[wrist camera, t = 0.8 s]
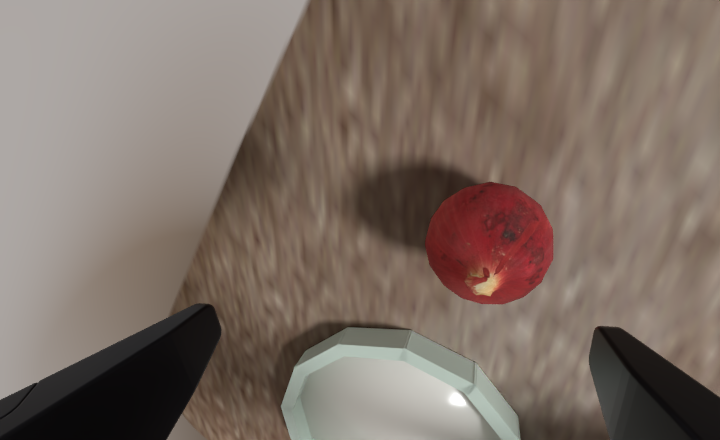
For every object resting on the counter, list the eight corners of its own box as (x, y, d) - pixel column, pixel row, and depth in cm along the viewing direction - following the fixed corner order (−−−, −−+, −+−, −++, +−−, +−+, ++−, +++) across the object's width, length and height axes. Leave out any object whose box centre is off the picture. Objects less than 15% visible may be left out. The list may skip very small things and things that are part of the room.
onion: (477, 148, 20) (472, 183, 13) (566, 208, 19) (612, 280, 12) (417, 225, 22) (385, 290, 15) (494, 280, 22) (498, 373, 15)
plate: (525, 529, 28) (527, 559, 26) (319, 483, 34) (310, 504, 33) (513, 334, 23) (515, 355, 21) (273, 323, 29) (259, 338, 27)
